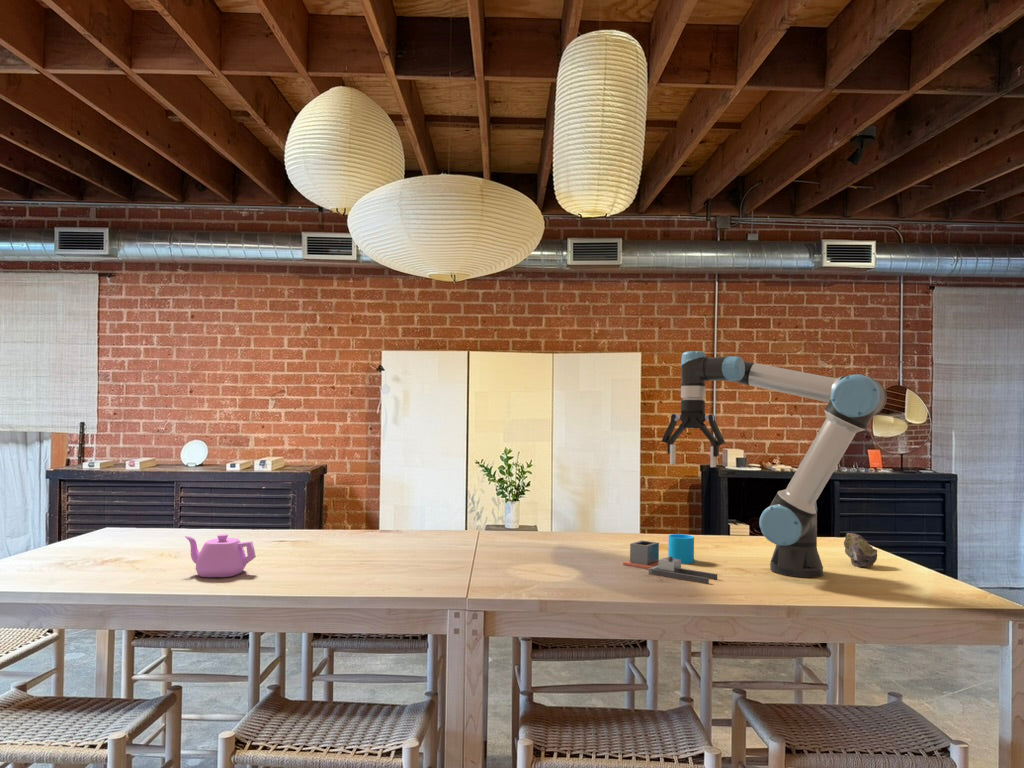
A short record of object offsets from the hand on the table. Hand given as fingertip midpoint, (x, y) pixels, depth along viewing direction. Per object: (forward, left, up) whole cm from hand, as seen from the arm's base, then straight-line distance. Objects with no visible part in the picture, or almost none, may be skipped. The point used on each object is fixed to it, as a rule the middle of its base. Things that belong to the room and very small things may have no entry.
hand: (692, 465), depth 219 cm
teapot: (+98, +104, -32) cm, 146 cm away
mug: (+7, -6, -32) cm, 33 cm away
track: (-4, +16, -32) cm, 36 cm away
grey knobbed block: (0, +16, -32) cm, 36 cm away
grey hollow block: (+12, +9, -31) cm, 34 cm away
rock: (-41, -38, -32) cm, 64 cm away
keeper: (+12, +9, -32) cm, 35 cm away
